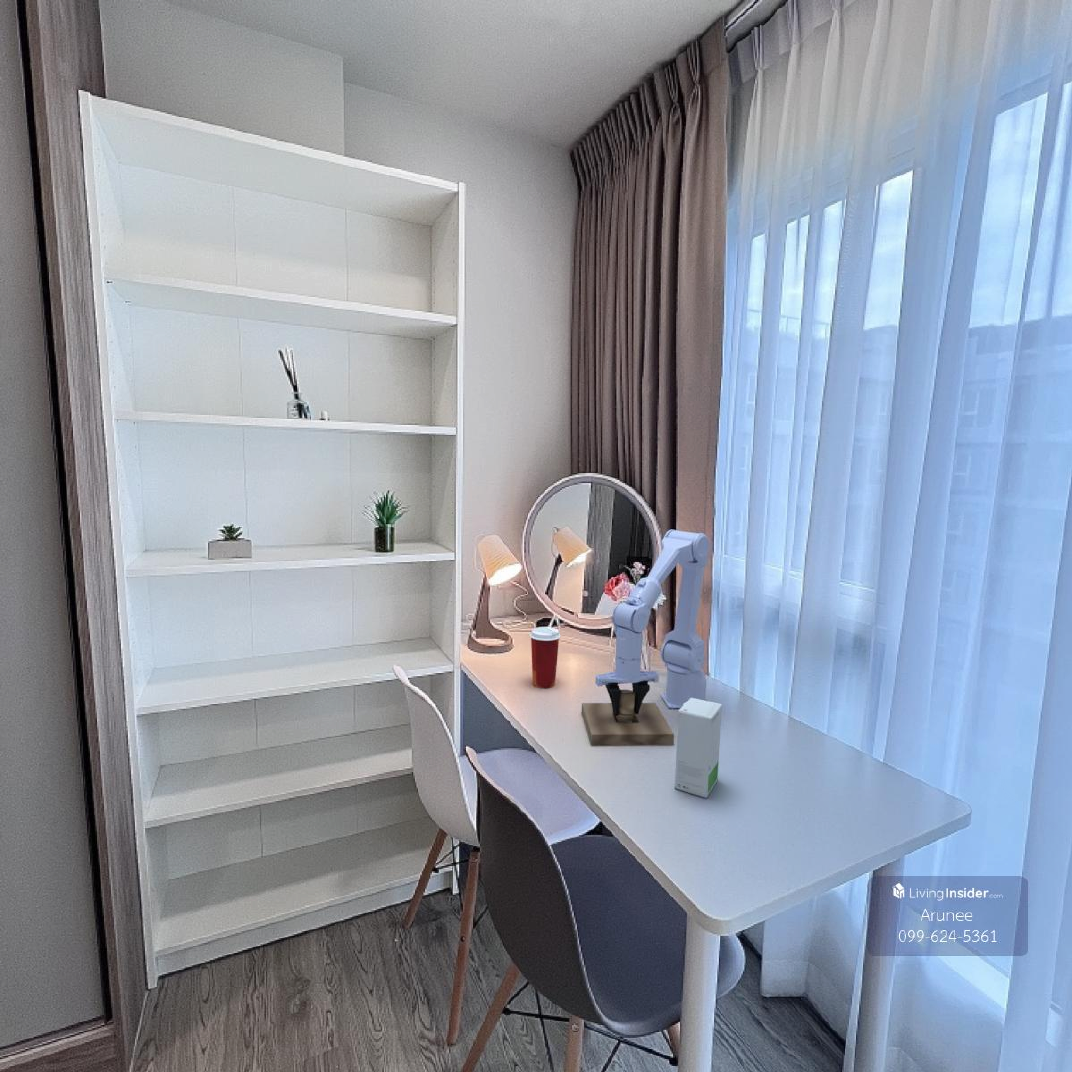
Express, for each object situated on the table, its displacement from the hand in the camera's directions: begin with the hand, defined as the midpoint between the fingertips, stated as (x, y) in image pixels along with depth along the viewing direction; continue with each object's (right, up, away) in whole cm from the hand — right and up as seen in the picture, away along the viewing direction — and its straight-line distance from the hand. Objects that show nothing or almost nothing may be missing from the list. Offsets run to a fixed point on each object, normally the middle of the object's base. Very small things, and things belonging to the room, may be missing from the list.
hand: (625, 713), depth 135 cm
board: (0, -4, 0) cm, 4 cm away
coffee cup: (-18, 0, +25) cm, 31 cm away
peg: (0, -2, 0) cm, 2 cm away
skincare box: (+10, -7, -22) cm, 25 cm away
